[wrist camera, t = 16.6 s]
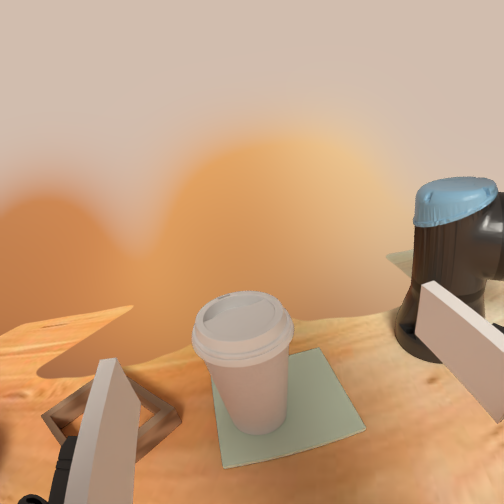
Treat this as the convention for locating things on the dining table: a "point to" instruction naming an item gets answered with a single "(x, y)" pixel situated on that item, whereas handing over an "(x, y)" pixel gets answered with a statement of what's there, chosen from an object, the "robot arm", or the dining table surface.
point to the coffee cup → (247, 356)
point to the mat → (293, 415)
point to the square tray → (147, 433)
